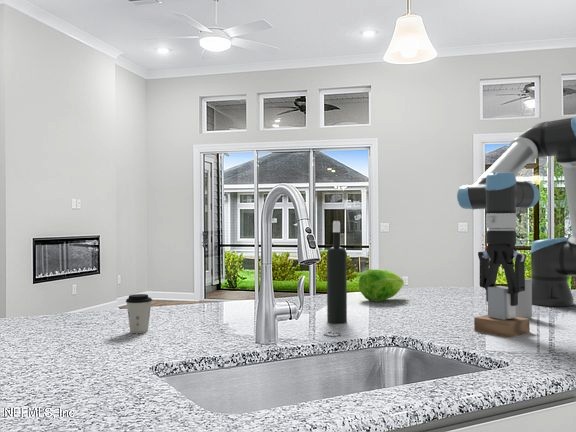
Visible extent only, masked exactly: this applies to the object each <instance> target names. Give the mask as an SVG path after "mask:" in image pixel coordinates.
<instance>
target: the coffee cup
mask: <svg viewBox="0 0 576 432" xmlns="http://www.w3.org/2000/svg"><path fill="white" fill-rule="evenodd" d="M152 301H153V299H152V297H150V296H149V294H145V293H140V294H139V293H137V294H130V295H128V298H126V300H125V302H126V308H127V316H128V317H127V318H128V326H129V331H130V332H131V333H130V332H129V333H130V334H132V333H136V334H135V335H139V334H138V333H143V334H147V333H148V331H149V326H150V325H149V323H150V316H151V308H152ZM146 332H147V333H146Z"/></svg>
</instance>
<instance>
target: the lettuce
mask: <svg viewBox="0 0 576 432" xmlns="http://www.w3.org/2000/svg"><path fill="white" fill-rule="evenodd" d="M404 286H405V282H404V279H403V278H401V276H399V275H398V274H396V273H395V272H393V271H391V270H387V269H371V268H369V269H366V270H364V271H363V272H362V273H361V275H360V277H359V279H358V288H359V289H358V290H359V291H360V293H361V294H362V296H363V297H364V298H365V299H366V300H368V301H371V302H376V303H379V302H383V301H385V300H387V299H388V300H389V299H391V298H393V297H394V296H396V295H397V294H398V292H400V290H402V288H403V287H404Z"/></svg>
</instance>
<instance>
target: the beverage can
mask: <svg viewBox="0 0 576 432" xmlns="http://www.w3.org/2000/svg"><path fill="white" fill-rule="evenodd" d="M516 317H522V318H528V319H531V318H532V317H533V304H532V281H531V278H529V277H525V291H522V292H519V293H518V305H517V306H516Z"/></svg>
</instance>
